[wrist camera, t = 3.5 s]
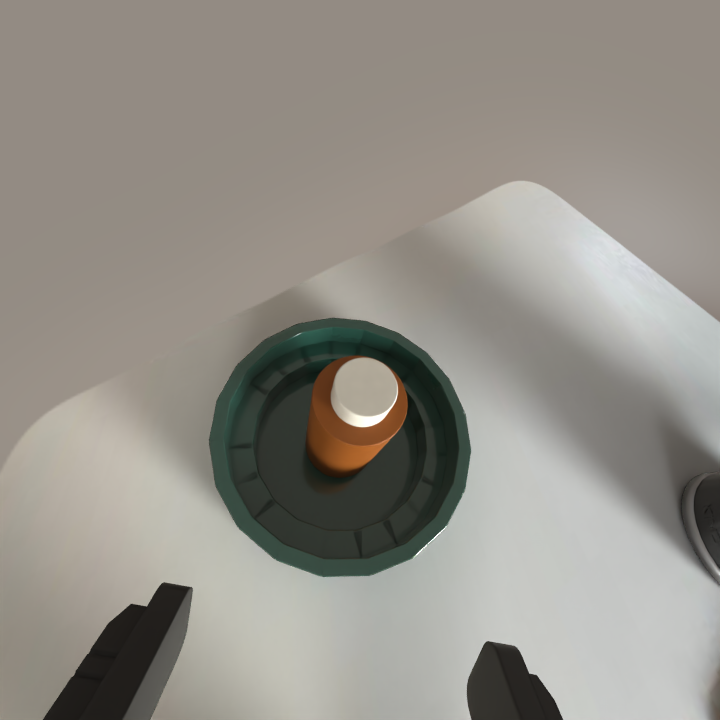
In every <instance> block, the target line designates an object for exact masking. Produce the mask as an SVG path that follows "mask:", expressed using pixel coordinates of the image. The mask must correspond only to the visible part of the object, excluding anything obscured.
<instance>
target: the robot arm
mask: <svg viewBox="0 0 720 720" xmlns="http://www.w3.org/2000/svg"><path fill="white" fill-rule="evenodd" d="M682 515H683V521H684V525H685V529H686V532H687V534H688V537H689V540H690V542H691V544H692V546H693V548H694V550H695V552H696V554H697V555H698V557H699V559H700V560H701V562H702V563H703V565H704V566H705V567H706V569H707V570H708V571H709V573H710V574H711V575H712V576H713V577H714V579H715V580H716V581H717V582H718V583H719V584H720V472H712V473H706V474H702V475H699V476H697V477H695V478H693V479H692V480H691V481H690V482H689V483H688V485H687V486H686V488H685V491H684V494H683V498H682ZM192 592H193V588H192V587H187V586H181V585H176V584H170V583H165V582H164V583H162V584H161V585H160V586H159V588H158V589H157V591H156V592H155V594H154V596H153V597H152V599H151V601H150V602H149V604H148V606H147V607H146V606H141V605H135V604H130V605H129V606H128V607H127V608H126V609H125V610H123V611H122V612H121V613H120V614H119V615H118V616H116V617H115V618H114V619H113V620H112V621H111V622H109V623H108V625H107V626H106V627H105V629H104V630H103V632H102V633H101V635H100V636H99V638H98V639H97V641H96V642H95V644H94V645H93V647H92V648H91V650H90V653H89V654H87V655H86V657H85V658H84V660H83V661H82V663H81V664H80V666H79V667H78V669H77V670H76V673H75V675H74V676H73V677H71V679H70V680H69V682H68V683H67V685H66V686H65V688H64V689H63V691H62V692H61V694H60V695H59V697H58V698H57V700H56V701H55V702H54V704H53V705H52V707H51V708H50V710H49V711H48V713H47V714H46V716H45V717H44V719H43V720H150V719H151V717H152V714H153V712H154V710H155V708H156V705H157V703H158V701H159V699H160V697H161V694H162V692H163V690H164V688H165V685H166V683H167V681H168V679H169V676H170V674H171V672H172V670H173V668H174V665H175V663H176V661H177V659H178V656H179V654H180V651H181V648H182V646H183V643H184V639H185V636H186V632H187V627H188V620H189V613H190V606H191V599H192ZM467 700H468V707H469V711H470V715H471V720H563V718H562V716H561V714H560V712H559V709H558V707H557V705H556V703H555V700H554V699H553V697H552V696H551V695H550V693H549V692H548V690H547V689H546V688H545V686H544V685H543V683H542V682H541V681H540V679H539V678H538V676H537V675H533V674H529V672H528V670H527V667H526V665H525V662H524V660H523V657H522V655H521V653H520V651H519V650H518V649H517V648H516V647H515V646H512V645H506V644H501V643H495V642H490V641H487V642H486V643H485V644H484V646H483V648H482V650H481V652H480V654H479V657H478V659H477V661H476V663H475V665H474V667H473V669H472V672H471V674H470V676H469V679H468V684H467Z"/></svg>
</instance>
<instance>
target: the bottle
mask: <svg viewBox="0 0 720 720" xmlns="http://www.w3.org/2000/svg"><path fill="white" fill-rule="evenodd" d="M407 407H408V404H407V395H406V391H405V388H404V386H403V384H402V382H401V380H400V378H399V377H398V376H397V374H396V373H395V372H394V371H393V370H392V369H391V368H389V367H388V366H387V365H385V364H384V363H382V362H380V361H378V360H376V359H373V358H370V357H366V356H347V357H343V358H340V359H337V360H335V361H334V362H332V363H330V364H329V365H327V366H326V367H325V368H324V369H323V370H322V371H321V373H320V374H319V375H318V377H317V379H316V381H315V383H314V386H313V390H312V397H311V405H310V412H309V419H308V426H307V434H306V451H307V455H308V457H309V459H310V461H311V463H312V464H313V465H314V466H315V467H316V468H317V469H318V470H319V471H320V472H322V473H324V474H325V475H328V476H331V477H335V478H345V477H350V476H353V475H355V474H357V473H358V472H360V471H361V470H362V469H363V468H364V467H365V466H366V465H367V464H368V463H369V462H370V461H371V460H372V459H373V458H374V457H375V456H376V454H377V453H378V452H379V451H380V450H381V449H382V448H383V447H384V446H385V445H386V444H387V443H388V441H389V440H390V439H391V438H392V437H393V436H394V435H395V434H396V433H397V432H398V430H399V429H400V428H401V426H402V424H403V422H404V420H405V417H406V414H407Z"/></svg>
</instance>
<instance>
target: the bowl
mask: <svg viewBox="0 0 720 720" xmlns="http://www.w3.org/2000/svg"><path fill="white" fill-rule="evenodd" d="M347 356H366V357H370V358H373V359H376V360H378V361H380V362H382V363H384V364H385V365H387V366H388V367H389V368H391V369H392V370H393V371H394V372H395V373H396V374H397V376H398V377H399V378H400V380H401V382H402V384H403V386H404V388H405V391H406V395H407V404H408V407H407V414H406V417H405V420H404V422H403V424H402V426H401V428H400V429H399V430H398V432H397V433H396V434H395V435H394V436H393V437H392V438H391V439H390V440H389V441H388V443H387V444H386V445H385V446H384V447H383V448H382V449H381V450H380V451H379V452H378V453H377V454H376V456H375V457H374V458H373V459H372V460H371V461H370V462H369V463H368V464H367V465H366V466H365V467H364V468H363V469H362V470H361V471H360V472H358V473H357V474H355V475H353V476H350V477H345V478H335V477H331V476H328V475H325V474H324V473H322V472H320V471H319V470H318V469H317V468H316V467H315V466H314V465H313V464H312V463H311V461H310V459H309V457H308V455H307V451H306V434H307V426H308V419H309V412H310V405H311V397H312V390H313V386H314V383H315V381H316V379H317V377H318V375H319V374H320V373H321V371H322V370H323V369H324V368H325V367H326V366H327V365H329V364H330V363H332V362H334V361H335V360H337V359H340V358H343V357H347ZM209 446H210V453H211V460H212V466H213V473H214V480H215V485H216V488H217V490H218V492H219V494H220V496H221V497H222V499H223V501H224V503H225V505H226V507H227V508H228V510H229V512H230V514H231V516H232V518H233V520H234V521H235V523H236V525H237V527H239V529H240V530H241V531H242V532H243V533H245V534H246V535H247V536H248V537H249V538H250V539H252V540H253V541H254V542H255V543H256V544H257V545H258V546H260V547H261V548H262V549H263V550H264V551H265V552H267V553H268V554H269V555H270V556H271V557H272V558H273V559H276V560H277V561H279V562H282V563H285V564H288V565H290V566H293V567H296V568H299V569H301V570H304V571H307V572H310V573H312V574H315V575H318V576H322V577H340V576H370V575H374V574H376V573H378V572H381V571H383V570H386V569H388V568H391V567H393V566H395V565H398V564H400V563H403V562H405V561H408V560H410V559H412V558H413V557H415V556H416V555H417V554H418V553H419V552H420V551H421V550H423V549H424V548H425V547H426V546H427V545H428V544H429V543H430V542H431V541H432V540H433V539H434V538H435V537H436V536H438V535H439V534H440V533H441V532H442V531H443V530H444V529H445V527H446V526H447V524H448V523H449V521H450V519H451V517H452V515H453V513H454V511H455V509H456V507H457V505H458V503H459V501H460V499H461V497H462V495H463V493H464V491H465V487H466V481H467V474H468V468H469V461H470V454H471V447H470V440H469V434H468V427H467V421H466V414H465V412H464V410H463V407H462V405H461V403H460V401H459V399H458V397H457V394H456V392H455V390H454V388H453V386H452V384H451V381H450V380H449V378H448V377H447V376H446V375H445V374H444V372H443V371H442V370H441V369H440V368H439V366H438V365H437V364H436V363H435V362H434V361H433V359H432V358H431V357H430V356H429V355H428V353H426V352H425V351H424V350H422V349H421V348H419V347H418V346H417V345H415V344H414V343H412V342H411V341H409V340H408V339H406V338H405V337H404V336H402V335H401V334H399V333H398V332H395V331H392V330H389V329H387V328H384V327H381V326H378V325H376V324H373V323H370V322H367V321H361V320H350V319H340V318H328V319H322V320H316V321H311V322H305V323H299V324H296V325H294V326H291V327H289V328H287V329H285V330H283V331H281V332H279V333H277V334H275V335H273V336H271V337H269V338H267V339H265V340H264V341H263V342H261V343H260V344H259V345H258V346H257V347H256V348H255V349H254V350H253V351H252V352H251V353H250V354H248V355H247V356H246V357H245V358H244V359H243V360H242V361H241V362H240V363H239V364H238V365H237V366H236V367H235V369H234V371H233V373H232V374H231V376H230V378H229V380H228V381H227V383H226V385H225V387H224V388H223V390H222V392H221V394H220V395H219V397H218V399H217V401H216V407H215V412H214V417H213V422H212V427H211V432H210V437H209Z"/></svg>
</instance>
